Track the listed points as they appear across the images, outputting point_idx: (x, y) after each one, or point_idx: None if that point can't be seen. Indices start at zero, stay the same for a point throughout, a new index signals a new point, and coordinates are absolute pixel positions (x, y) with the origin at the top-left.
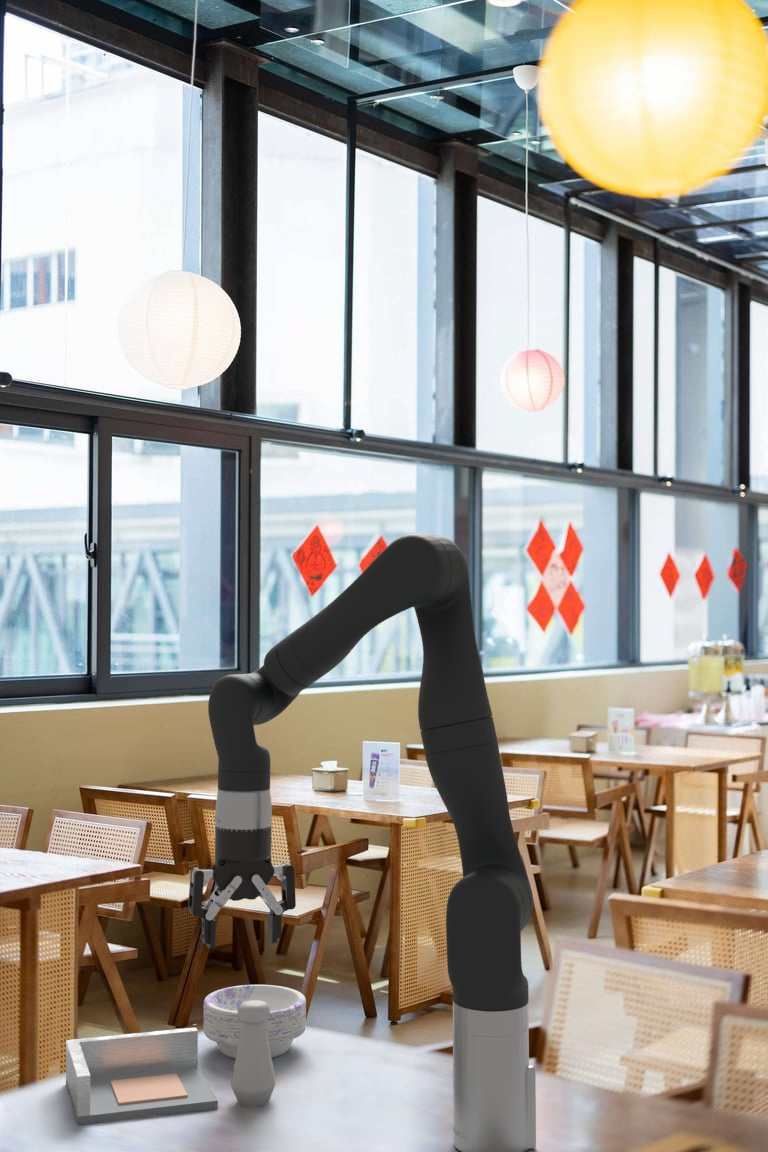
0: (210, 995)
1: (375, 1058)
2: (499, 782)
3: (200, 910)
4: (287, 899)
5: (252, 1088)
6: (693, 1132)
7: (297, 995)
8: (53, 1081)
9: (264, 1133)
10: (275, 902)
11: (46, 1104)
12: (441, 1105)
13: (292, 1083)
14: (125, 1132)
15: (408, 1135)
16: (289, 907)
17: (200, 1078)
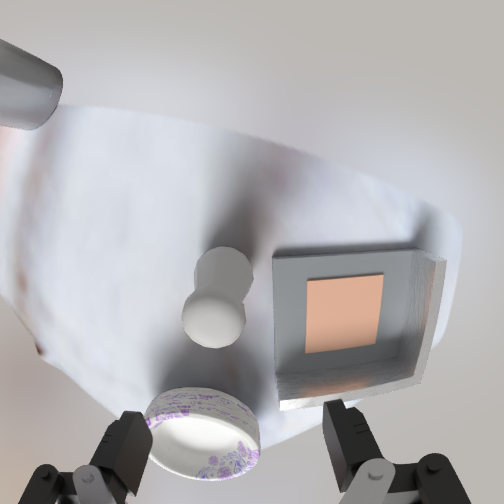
0: (249, 466)
1: (86, 355)
2: None
3: (423, 474)
4: (49, 493)
5: (229, 248)
6: None
7: None
8: None
9: (229, 158)
10: (87, 501)
11: None
12: (41, 203)
13: (171, 315)
14: (381, 211)
15: (85, 124)
16: (53, 471)
17: (280, 338)
